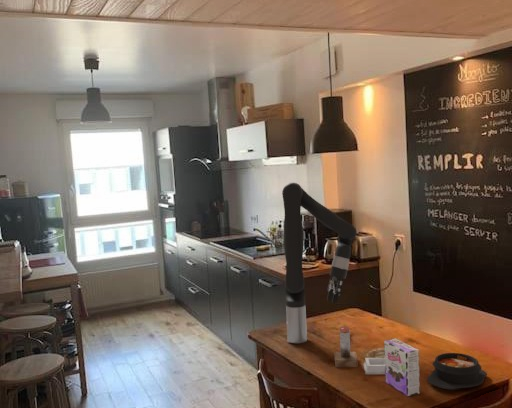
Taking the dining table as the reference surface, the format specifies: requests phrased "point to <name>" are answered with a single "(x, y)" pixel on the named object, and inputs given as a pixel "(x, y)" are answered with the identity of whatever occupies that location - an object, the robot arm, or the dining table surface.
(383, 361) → the socket
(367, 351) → the dining table surface
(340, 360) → the mount
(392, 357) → the candy box
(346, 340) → the canister
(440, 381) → the casserole
